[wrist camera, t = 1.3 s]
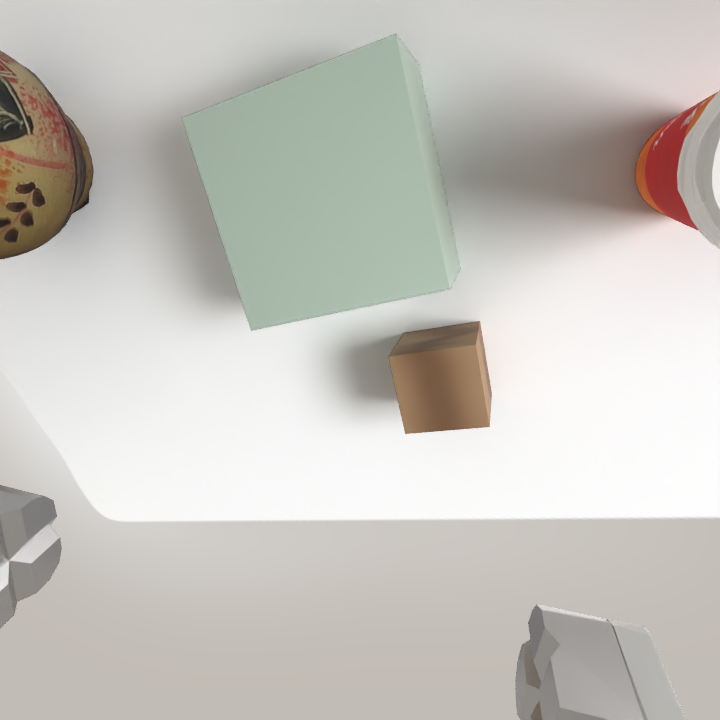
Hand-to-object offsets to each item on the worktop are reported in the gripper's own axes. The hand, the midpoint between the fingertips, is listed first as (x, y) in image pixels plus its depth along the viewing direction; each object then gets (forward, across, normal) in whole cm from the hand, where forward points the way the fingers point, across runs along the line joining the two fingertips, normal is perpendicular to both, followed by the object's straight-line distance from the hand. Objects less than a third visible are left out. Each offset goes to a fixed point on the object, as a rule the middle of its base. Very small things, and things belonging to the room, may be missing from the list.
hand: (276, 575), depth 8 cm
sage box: (+33, +6, -4) cm, 34 cm away
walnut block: (+32, -3, +8) cm, 33 cm away
